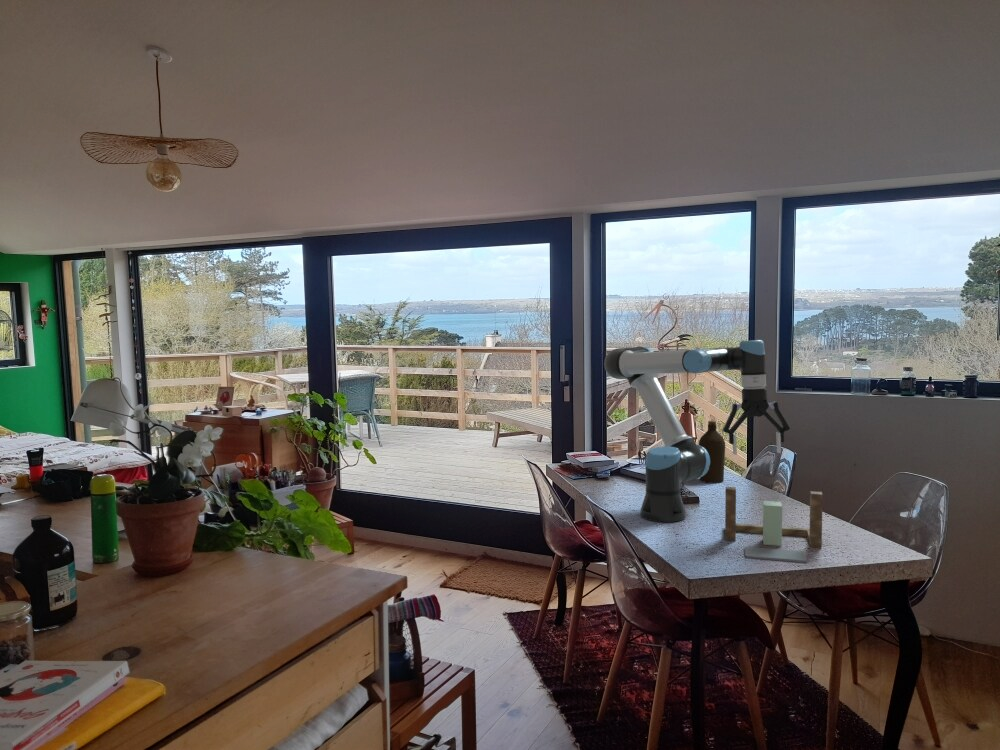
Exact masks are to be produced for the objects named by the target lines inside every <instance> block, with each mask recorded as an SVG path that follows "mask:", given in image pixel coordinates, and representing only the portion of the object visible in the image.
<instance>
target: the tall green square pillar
mask: <svg viewBox="0 0 1000 750" xmlns="http://www.w3.org/2000/svg"><path fill="white" fill-rule="evenodd" d="M762 503H763V504H762V505H763V508H762V509H763V510H762V525H763V533H762V542H763V545H765V546H767V545H768V546H778V547H779V546H780V547H781V546H783V545H782V544H783V541H782V539H783V535H782V527H783V504H782V501H771V500H770V501H767V500H763V502H762Z"/></svg>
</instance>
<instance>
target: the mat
mask: <svg viewBox="0 0 1000 750" xmlns="http://www.w3.org/2000/svg"><path fill="white" fill-rule="evenodd" d="M744 556H745V558H746V559H755V558H756V560H757V559H758V560H768V561H780V562H782V561H783V562H792V563H793V562H795V563H802V564H804V563H805V564H807V563H808V562H807V561H808V560H807V556H806V555H805V551H803V550H791V549H781V548H780V549H778V548H767V547H766V548H765V547H753V546H744Z"/></svg>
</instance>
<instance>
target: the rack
mask: <svg viewBox="0 0 1000 750" xmlns="http://www.w3.org/2000/svg"><path fill="white" fill-rule="evenodd" d="M809 493H810V494H809V528H806V527H805V528H803V527H794V526H793V527H792V526H782V536H795V537H806V538H808V539H807V541H808V544H809V547H810V548H818V547H820V548H821V547H822V545H823V543H822V542H823V499H824V498H823V492H822V491H813V490H812V491H811V490H810V491H809ZM724 504H725V511H724V512H725V514H724V515H725V516H724V518H725V519H724V520H725V521H724V523H725V524H724V526H725V527H724V531H725V532H724V533H725V534H724V539H725V541H730V542H736V535H737V534H736V532H737V533H738V532H739V533H740V532H742V533H753V534H763V524H749V523H736V521H737V517H736V515H737V487H736V486H725V503H724ZM820 548H819V549H820ZM821 549H822V548H821Z"/></svg>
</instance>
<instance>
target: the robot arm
mask: <svg viewBox="0 0 1000 750" xmlns="http://www.w3.org/2000/svg"><path fill="white" fill-rule="evenodd" d="M765 349H766V348H765V343H764V341H763V340H762V339H755V340H753V339H752V340H741V341H739V346H735V347H731V346H729V347H713V348H699V349H697V348H696V349H695V348H694V349H682V350H680V349H679V350H666V351H664V350H662V351H654V350H653V349H652V348H649V347H646V346H634V347H619V348H615V349H613V350H611V351H609V352H608V353H607V354H606V356H605V358H604V363H603V365H604V369H605V372H606V373H607V374H608V376H610V377H611V378H613V379H616V380H627V382H628V384H629V385H630V387H631V388H633V389H636V390H637V393H638V395H639V396H640V398H641V400H642V402H643V405H644V407H645V408H646V410H647V412H648V414H649V417H650V418H651V420H652V423H653V424H654V426H655V429H656V430H657V432H658V434H659V436H660V438H661V441H662V442H663V444H664V446H659V447H653V448H651V449H649V450H648V451H647V452H646V455H645V495H644V498H643V501H642V504H641V506H640V516H641V518H643V519H645V520H648V521H652V522H659V523H674V522H680V521H683V520H685V519H686V516H687V515H686V513H687V512H686V507H685V505H684V502H683V499H682V496H681V483H685V482H688V481H695V480H698V479H700V477H702V476H704V475H705V474H706V473H707V471H708V470H709V466H710V457H709V454H708V452H707V450H706V449H705V448H704V447H701V446H700V445H699V444H697V443H696V440H695V439H694V437H693V436H690V435H688V434H687V432H686V431H685V429H684V427H683V426H682V424H681V421H680V419H679V417H678V416H677V414H676V412H675V410H674V407H673V406H672V404H671V402H670V401H669V399H668V396H667V395H666V393H665V390H664V388H663V387H662V385H661V383H660V381H659V375H660V374H682V373H683V374H685V373H687V374H688V373H690V374H691V373H692V374H702V373H709V372H720V371H737V370H739V371H740V379H741V381H740V382H741V387H742V389H741V401H742V402H741V403H740V404H739V403H732V404H731V411H730V414H729V415H728V417H727V419H726V422H725V424H724V426H723V428H722V431H723V432H724V433H726V434H728V442H729V444H730V445H732V454H734V455H738V451H737V450H738V449H737V448H738V447H737V434H736V433H735V432H736V431H737V430H738V428H739V427H740V426H741V425H742V424H743V422H744V421H745V420H746V419H747V418H748V417H750V418H755V417H762V416H764V417H765V419H766V420H767V421H769V423H770V424H772V426H773V427H774V428H775V429H776V430H777V431H776V432H775V438H776V439H775V440H776V452H777V453H778V454H782V443H784V441H785V432H787V431H790V430H791V429H790V426H789V425H788V423H787V421H786V419H785V417H784V416H783V414H782V412H781V411H780V409H779V403H778V402H777V401H772V402H768V394H767V393H768V392H767V388H766V387H767V377H766V375H767V374H766V351H765ZM769 407H770V409H772V411H774V413H775V415H776V417H777V418H778V420H779V422H780V424H781V425H782V427H781V425H780V424H779V423H777V421H776V420H775V419H774V418H773V417H772V416H771V415H770V414H769V413H768V412H767V410H768V409H769ZM740 408H741V409H742V411H743V412H742V413H741V415H740V416H739V418H737V420H736V421H735V423H734V424H733V425H732V423H733V421H734V418H735V416H736V414H737V412H738V411H739V410H740ZM731 425H732V426H731Z"/></svg>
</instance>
